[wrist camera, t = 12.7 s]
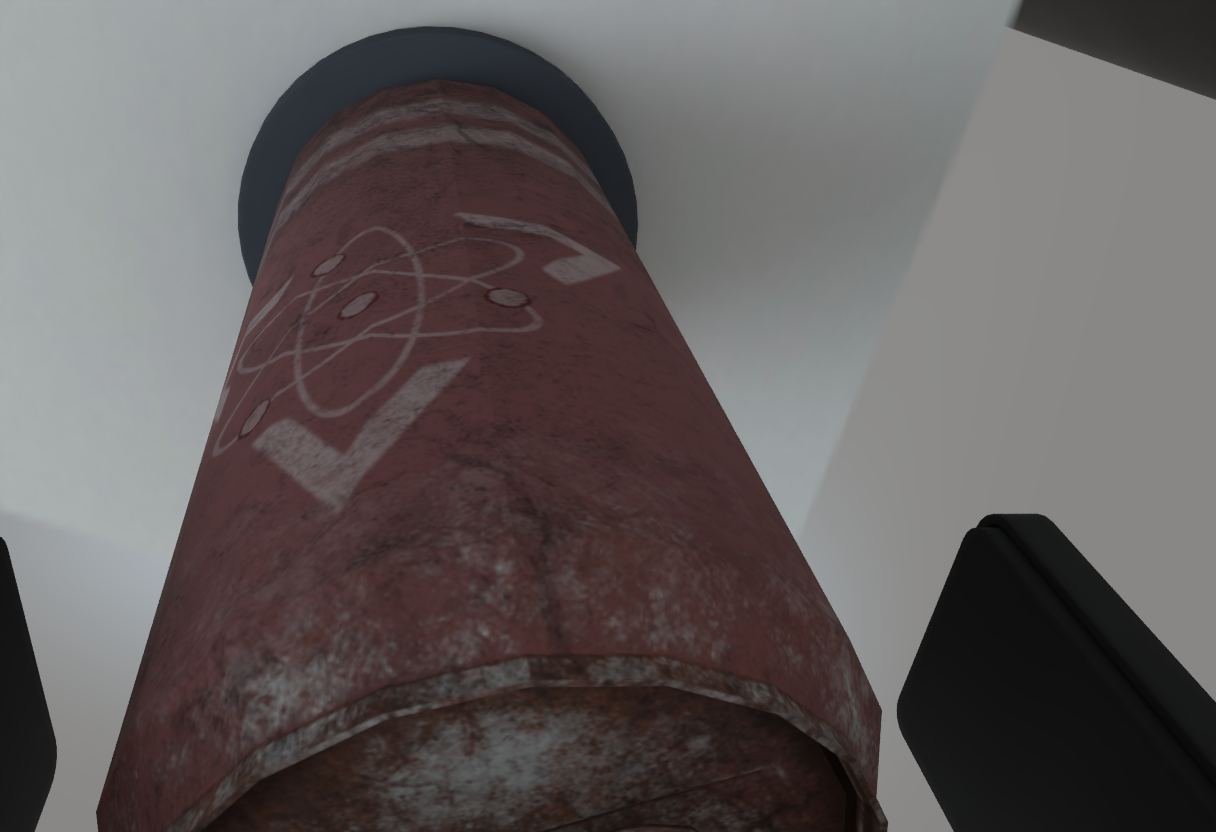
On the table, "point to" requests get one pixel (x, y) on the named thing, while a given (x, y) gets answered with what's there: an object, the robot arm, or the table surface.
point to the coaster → (410, 62)
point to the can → (480, 530)
